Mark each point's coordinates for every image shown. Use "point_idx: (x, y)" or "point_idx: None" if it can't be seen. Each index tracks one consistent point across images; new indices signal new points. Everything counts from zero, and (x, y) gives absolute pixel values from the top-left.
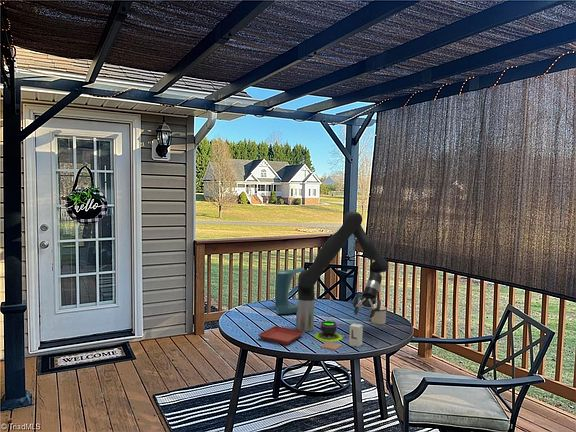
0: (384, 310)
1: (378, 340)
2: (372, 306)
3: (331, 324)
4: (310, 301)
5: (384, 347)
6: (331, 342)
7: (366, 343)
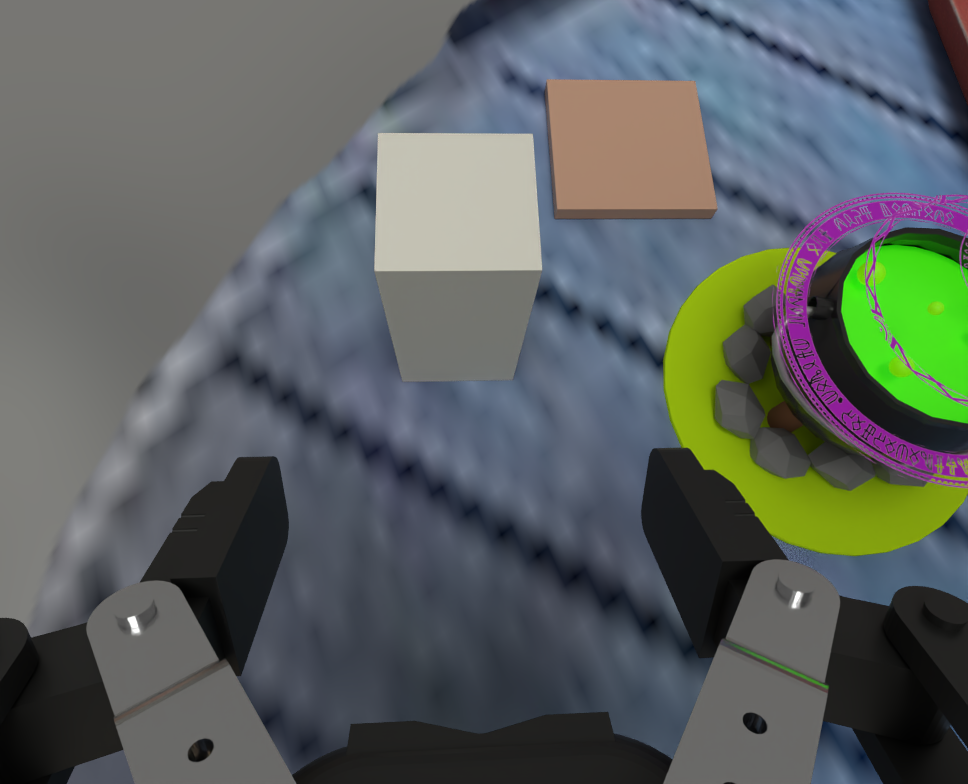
0: None
1: (275, 648)
2: (173, 677)
3: (917, 391)
4: None
5: (147, 440)
6: (668, 201)
7: (371, 441)
